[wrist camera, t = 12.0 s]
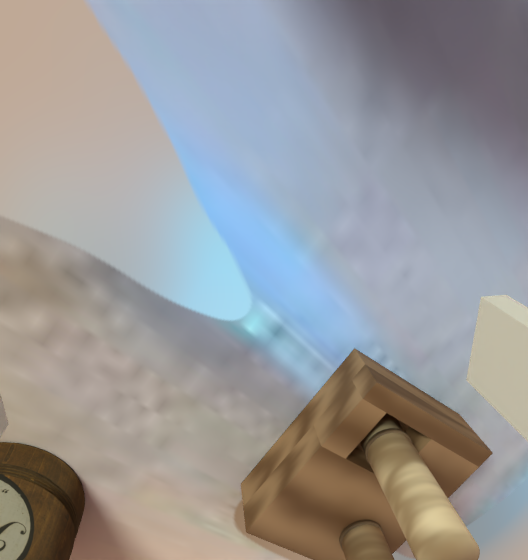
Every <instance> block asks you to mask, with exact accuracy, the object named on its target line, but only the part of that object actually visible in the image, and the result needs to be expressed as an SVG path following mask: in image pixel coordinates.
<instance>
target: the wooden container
mask: <svg viewBox="0 0 528 560" xmlns="http://www.w3.org/2000/svg"><path fill="white" fill-rule="evenodd" d="M84 505H85V497H84V491H83V488H82V485H81V483H80V481H79V479H78V477H77V476H76V474H75V473H74V472H73V470H72V469H71V468H70V467H69V466H68V465H67V464H65V463H64V462H63V461H62V460H60V459H59V458H57V457H56V456H54V455H52V454H50V453H48V452H46V451H44V450H41V449H39V448H36V447H32V446H29V445H24V444H19V443H6V442H0V560H69V558H70V555H71V552H72V549H73V545H74V541H75V538H76V535H77V531H78V528H79V525H80V521H81V518H82V514H83V510H84Z"/></svg>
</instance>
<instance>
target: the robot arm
mask: <svg viewBox="0 0 528 560" xmlns="http://www.w3.org/2000/svg"><path fill="white" fill-rule="evenodd" d="M467 381H468V382H469V383H470V384H471V385H472V386H473V387H474V388H475V389H476V390H477V391H478V392H479V393H480V394H481V395H482V396H483V397H484V398H485V399H486V400H487V401H488V402H489V403H490V404H491V405H492V406H493V407H494V408H495V409H496V410H497V411H498V412H499V413H500V414H501V415H502V416H503V417H504V418H505V419H506V420H507V421H508V422H509V423H510V424H511V425H512V426H513V427H514V428H515V429H516V430H517V431H518V432H519V433H520V434H521V435H522V436H523V437H524V438H525V439H526V440H527V441H528V308H527V307H526V306H524V305H522V304H521V303H519V302H517V301H516V300H514V299H512V298H511V297H509V296H507V295H500V296H486V297H481V301H480V306H479V312H478V318H477V323H476V329H475V334H474V340H473V346H472V351H471V357H470V363H469V368H468V374H467ZM7 426H8V420H7V417H6V413H5V409H4V406H3V402H2V398H1V395H0V437H1V435H2V434H3V432H4V430H5V429H6V427H7Z"/></svg>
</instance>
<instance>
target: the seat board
mask: <svg viewBox="0 0 528 560" xmlns="http://www.w3.org/2000/svg"><path fill="white" fill-rule="evenodd" d="M386 413H388V414H389V415H391V416H393V417H394V418H396V419H397V420H398V422H399V424H400V425H401V427H402V428H403V430H404V431H405V432H406V433H407V434H408V436H409V437H410V439H411V440H412V443H413V445H414V447H415V448H416V450H417V451H418V453H419V455H420V456H421V458H422V459H423V461H424V462H425V464H426V465H427V467H428V469H429V470H430V472H431V473H432V475H433V476H434V478H435V479H436V481H437V483H438V484H439V486H440V487H441V489H442V490H443V492H444V493H445V495H446V496H447V498H449V497H450V496H451V495H452V494H453V493H454V492H455V491H456V490H457V489H458V488H459V487H460V486H461V484H462V483H463V482H464V481H465V480H466V479H467V478H468V477H469V476H470V475H471V474H472V473H473V472H474V471H475V470H476V469H477V468H478V467H479V466H480V465H481V464H482V463H483V462H484V461H485V460H486V459H487V458H488V457H489V456H490V455H491V454H492V452H491V450H490V449H489V448H488V447H487V446H486V445H485V444H484V442H483V441H482V440H481V439H480V438H479V437H478V435H477V434H476V433H475V432H474V431H473V430H472V428H471V427H470V426H469V425H468V424H467V423H466V422H465V420H464V419H463V418H462V417H461V416H460V415H459V414H458V413H456V412H455V411H453V410H451V409H450V408H448V407H447V406H445V405H444V404H442V403H440V402H439V401H437V400H436V399H434V398H432V397H431V396H429V395H428V394H426V393H425V392H423V391H421V390H420V389H418V388H417V387H415V386H413V385H412V384H410V383H409V382H407V381H405V380H404V379H402V378H401V377H399V376H398V375H396V374H394V373H393V372H391V371H390V370H388V369H386V368H385V367H383V366H382V365H380V364H379V363H377V362H375V361H374V360H372V359H371V358H369V357H367V356H366V355H364V354H363V353H361V352H360V351H358V350H356V349H354V350H353V351H352V352H351V353H350V355H349V356H348V357H347V358H346V359H345V361H344V362H343V363H342V364H341V365H340V366H339V368H338V369H337V370H336V371H335V372H334V374H333V375H332V376H331V377H330V378H329V380H328V381H327V382H326V383H325V384H324V386H323V387H322V388H321V389H320V390H319V392H318V393H317V394H316V395H315V396H314V397H313V399H312V400H311V401H310V402H309V403H308V405H307V406H306V407H305V408H304V409H303V411H302V412H301V413H300V414H299V415H298V417H297V418H296V419H295V420H294V421H293V423H292V424H291V425H290V426H289V427H288V428H287V430H286V431H285V432H284V433H283V434H282V436H281V437H280V438H279V439H278V440H277V442H276V443H275V444H274V445H273V446H272V448H271V449H270V450H269V451H268V452H267V454H266V455H265V456H264V457H263V458H262V459H261V461H260V462H259V463H258V464H257V465H256V467H255V468H254V469H253V470H252V471H251V473H250V474H249V475H248V476H247V477H246V479H245V480H244V481H243V482H242V483H241V490H242V499H243V507H244V517H245V526H246V532H247V533H249V534H251V535H254V536H256V537H259V538H261V539H264V540H266V541H269V542H271V543H273V544H276V545H278V546H281V547H283V548H286V549H288V550H291V551H293V552H296V553H298V554H300V555H303V556H305V557H308V558H310V559H313V560H394V558H393V556H392V554H393V553H394V552H395V551H396V550H397V549H398V548H399V547H400V546H401V545H402V544H403V543H404V542H405V541H406V538H405V536H404V534H403V532H402V529H401V527H400V525H399V523H398V521H397V519H396V517H395V515H394V513H393V511H392V509H391V507H390V505H389V503H388V501H387V498H386V496H385V494H384V492H383V490H382V488H381V486H380V484H379V482H378V480H377V478H376V476H375V474H374V472H373V470H372V467H371V466H370V465H369V463H368V462H367V460H366V457H365V454H364V451H363V449H362V447H361V445H360V442H361V441H362V440H363V439H364V438H365V436H366V435H367V434H368V433H369V432H370V431H371V430H372V429H373V428H374V426H375V425H376V424H377V423H378V422H379V421H380V420H381V419H382V418H383V416H384V415H385V414H386Z"/></svg>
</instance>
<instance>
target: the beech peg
mask: <svg viewBox="0 0 528 560" xmlns="http://www.w3.org/2000/svg"><path fill="white" fill-rule="evenodd" d="M360 445H361V447H362V449H363V451H364V454H365V457H366V460H367V462H368V463H369V465H370V466H371V467H372V470H373V472H374V474H375V476H376V478H377V480H378V482H379V484H380V486H381V488H382V490H383V492H384V494H385V496H386V498H387V501H388V503H389V505H390V507H391V509H392V511H393V513H394V515H395V517H396V519H397V521H398V523H399V525H400V527H401V529H402V532H403V534H404V536H405V538H406V540H407V542H408V544H409V546H410V548H411V550H412V552H413V554H414V556H415V558H416V560H478V558H479V554H480V550H479V547H478V545H477V543H476V542H475V540H474V538H473V537H472V535H471V534H470V532H469V531H468V529H467V528H466V526H465V524H464V523H463V521H462V520H461V518H460V517H459V515H458V514H457V512H456V510H455V509H454V507H453V506H452V504H451V503H450V501H449V500H448V498H447V496H446V495H445V493H444V492H443V490H442V489H441V487H440V486H439V484H438V483H437V481H436V479H435V478H434V476H433V475H432V473H431V472H430V470H429V469H428V467H427V465H426V464H425V462H424V461H423V459H422V458H421V456H420V455H419V453H418V451H417V450H416V448H415V447H414V445H413V443H412V440H411V439H410V437H409V436H408V434H407V433H406V432H405V431H404V430H403V428H402V427H401V425H400V424H399V422H398V420H397V419H396V418H394V417H393V416H391V415H389V414H388V413H386V414H385V415H384V416H383V418H382V419H381V420H380V421H379V422H378V423H377V424H376V425H375V426H374V428H373V429H372V430H371V431H370V432H369V433H368V434H367V435H366V436H365V438H364V439H363V440H362V441H361V442H360Z"/></svg>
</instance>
